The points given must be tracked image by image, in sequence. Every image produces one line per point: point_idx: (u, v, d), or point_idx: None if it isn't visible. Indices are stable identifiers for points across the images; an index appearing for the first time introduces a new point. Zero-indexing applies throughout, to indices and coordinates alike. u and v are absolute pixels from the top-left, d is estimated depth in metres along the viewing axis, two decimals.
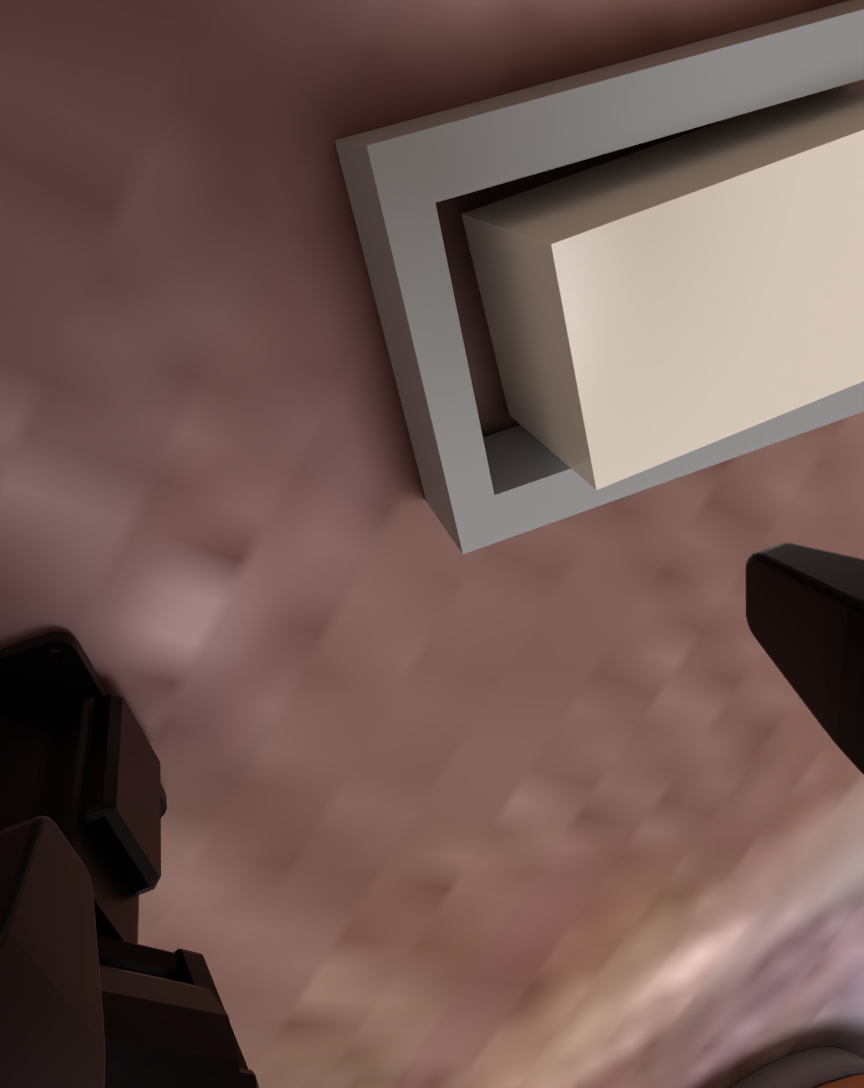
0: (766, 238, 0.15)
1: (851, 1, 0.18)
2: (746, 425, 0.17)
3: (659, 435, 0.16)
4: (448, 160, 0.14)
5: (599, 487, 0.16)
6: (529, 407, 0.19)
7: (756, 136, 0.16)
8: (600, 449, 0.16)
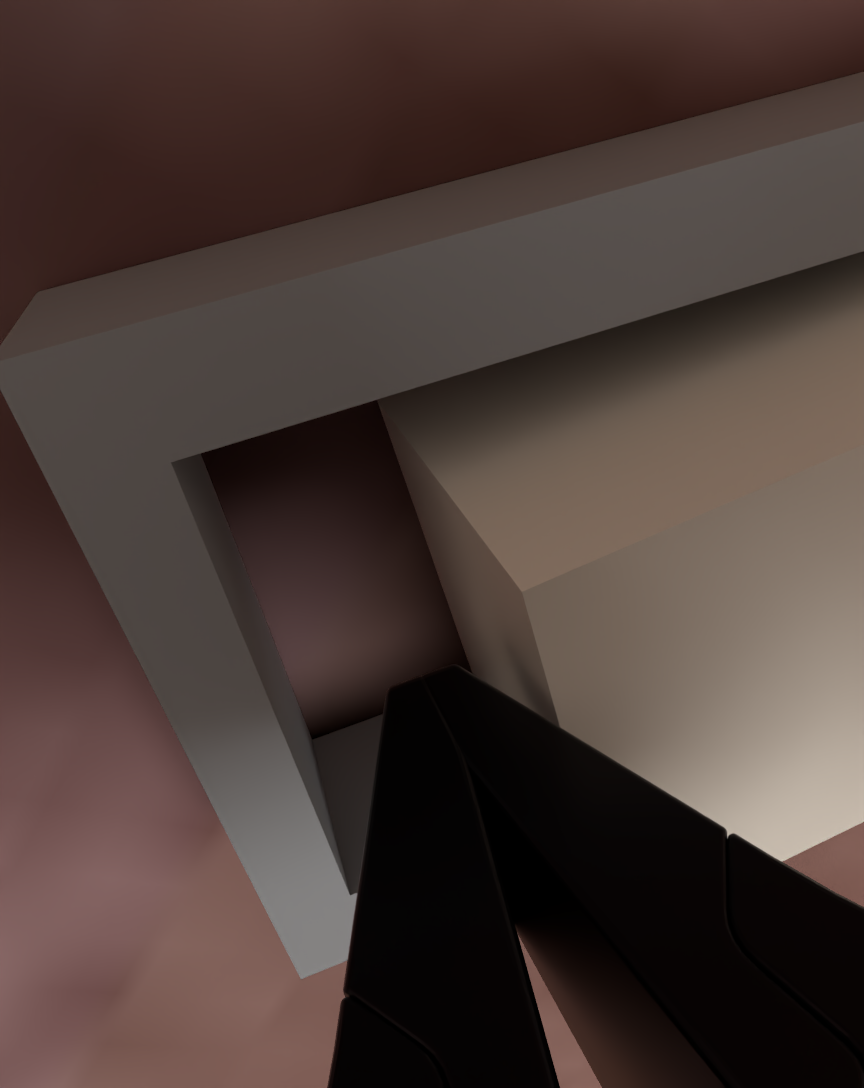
0: None
1: None
2: None
3: None
4: (189, 383, 0.07)
5: None
6: None
7: None
8: None
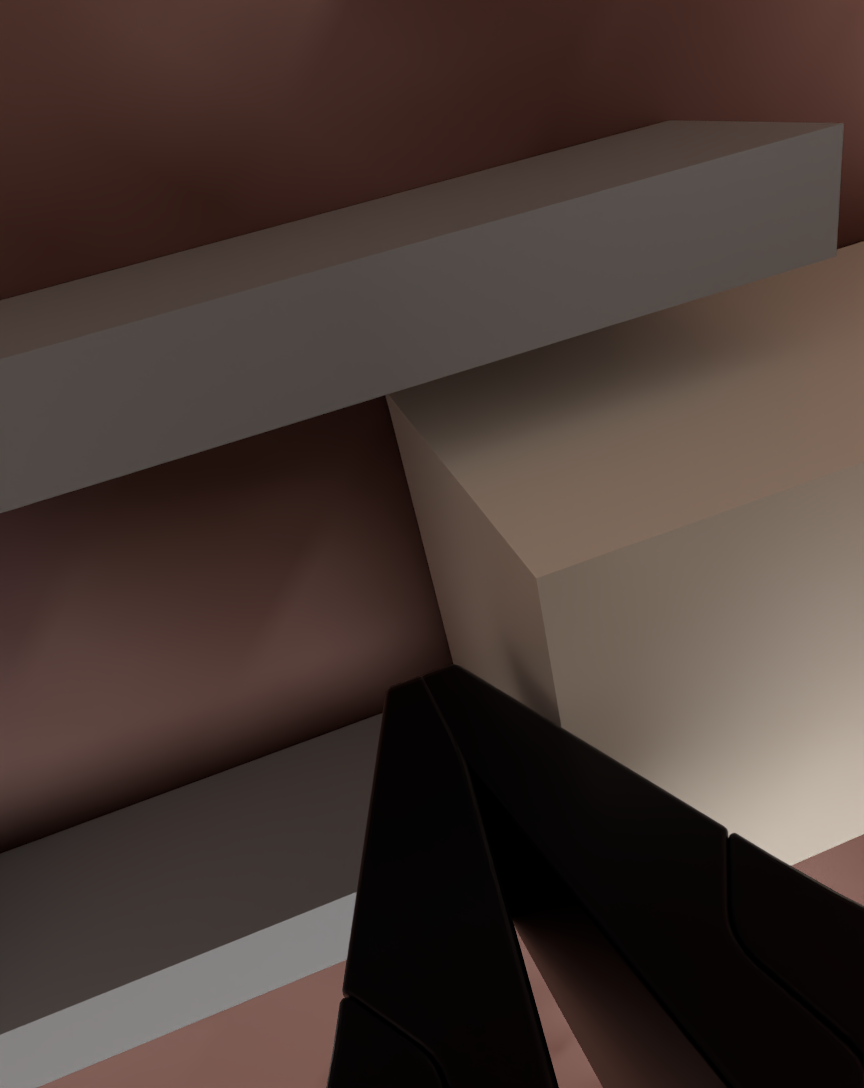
0: None
1: (604, 143, 0.09)
2: None
3: None
4: None
5: None
6: None
7: None
8: None
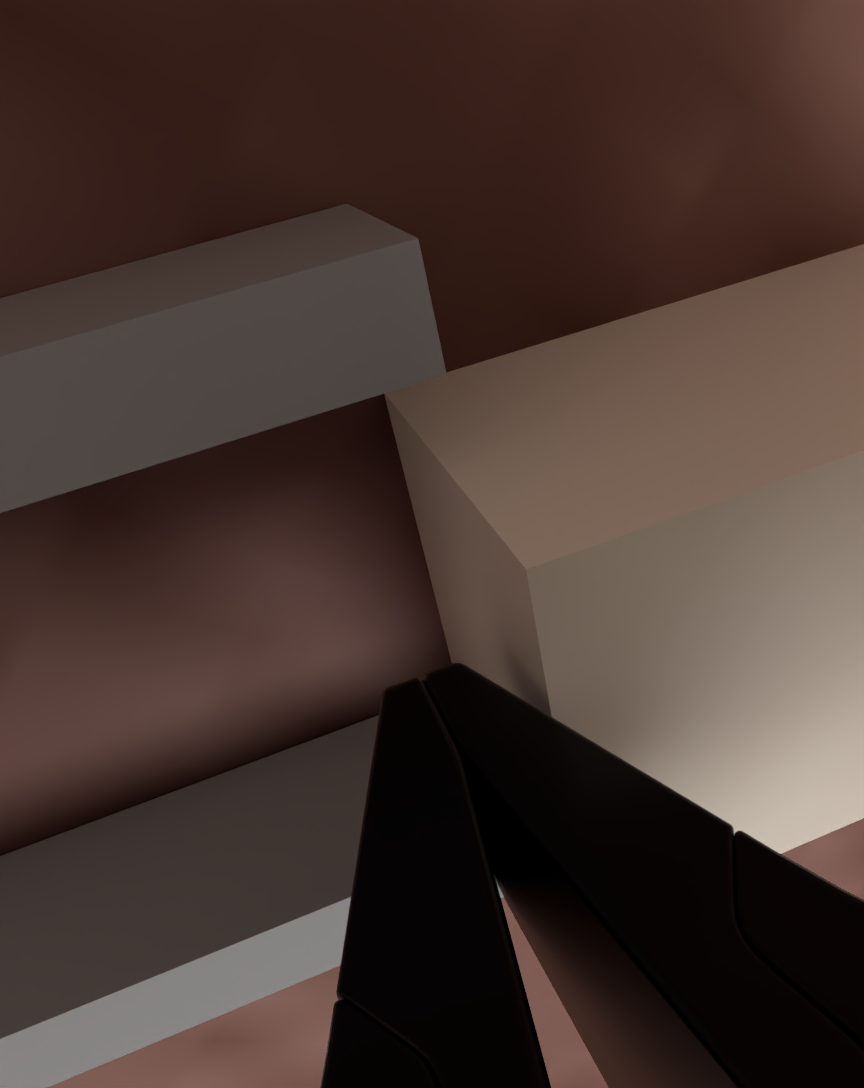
0: None
1: (256, 234, 0.09)
2: (859, 810, 0.10)
3: None
4: None
5: None
6: None
7: None
8: None
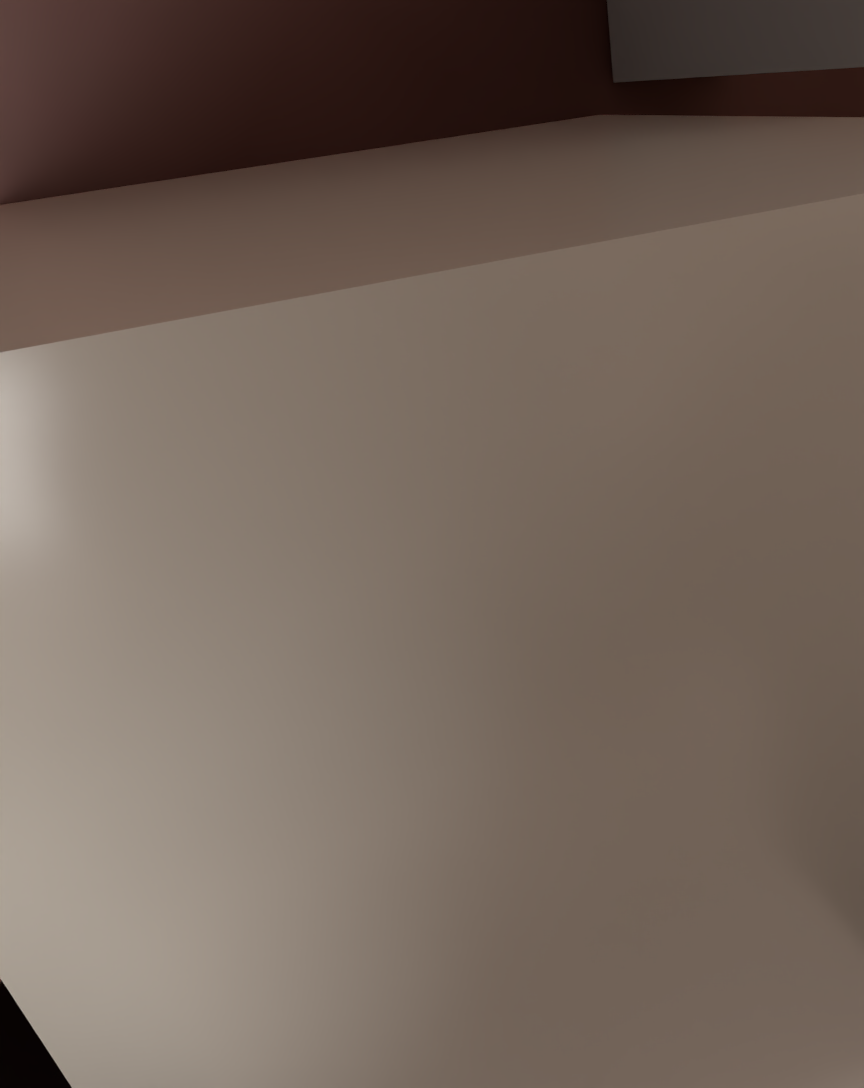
0: (806, 954, 0.05)
1: None
2: None
3: (123, 797, 0.03)
4: None
5: None
6: (92, 215, 0.05)
7: None
8: (56, 434, 0.02)
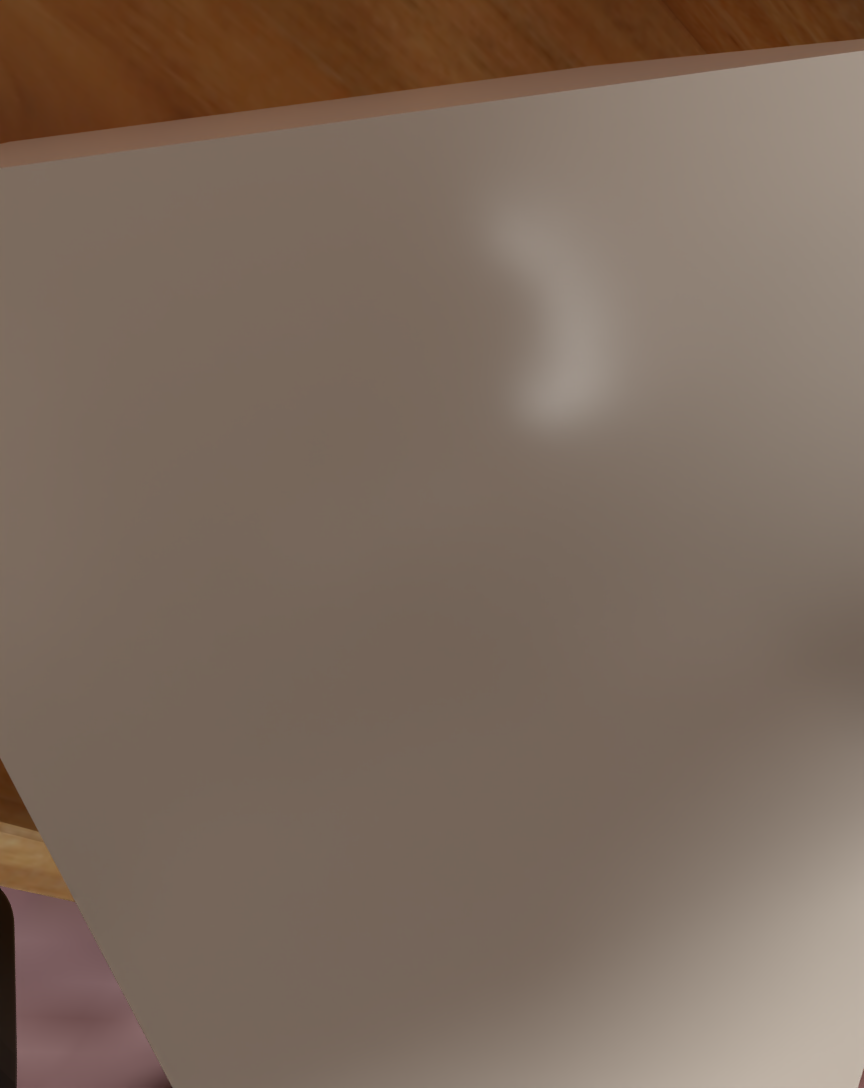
0: (780, 841, 0.05)
1: None
2: (125, 977, 0.04)
3: (138, 621, 0.03)
4: None
5: None
6: (104, 133, 0.05)
7: None
8: (82, 248, 0.02)
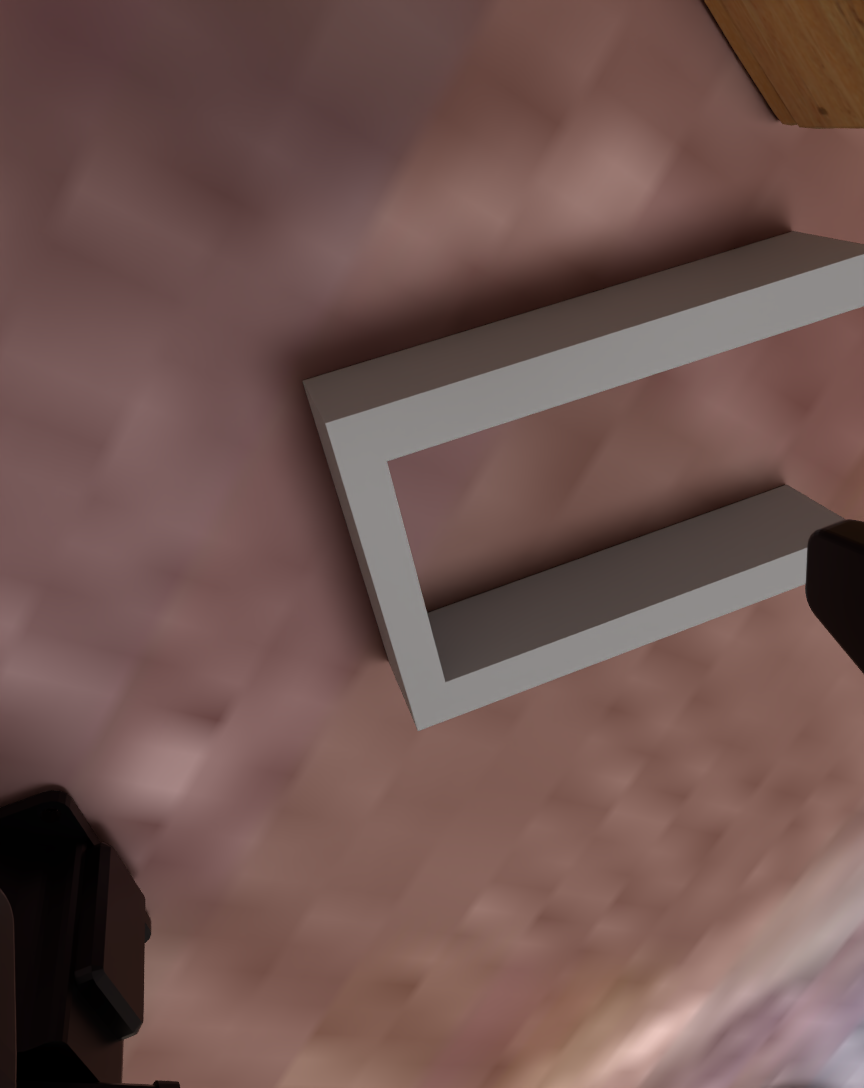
0: None
1: (766, 245, 0.20)
2: None
3: None
4: (397, 428, 0.16)
5: None
6: None
7: None
8: None
